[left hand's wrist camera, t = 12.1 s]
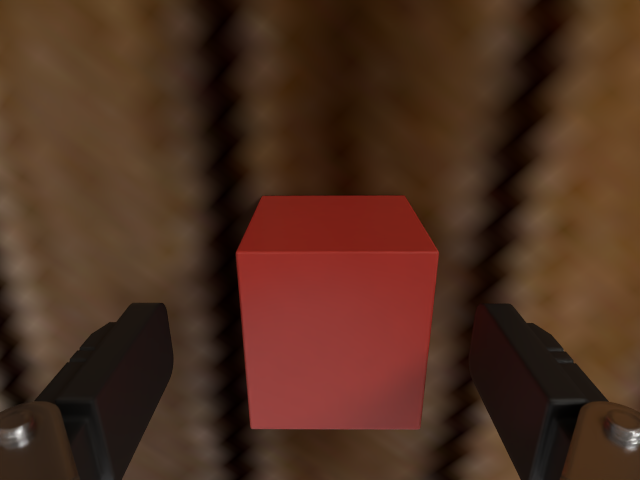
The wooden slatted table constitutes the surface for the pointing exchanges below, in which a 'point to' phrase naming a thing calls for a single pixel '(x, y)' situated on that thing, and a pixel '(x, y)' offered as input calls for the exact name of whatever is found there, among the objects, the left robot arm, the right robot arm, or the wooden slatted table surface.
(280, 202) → the block
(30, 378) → the wooden slatted table surface
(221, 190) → the wooden slatted table surface
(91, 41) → the wooden slatted table surface
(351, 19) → the wooden slatted table surface
